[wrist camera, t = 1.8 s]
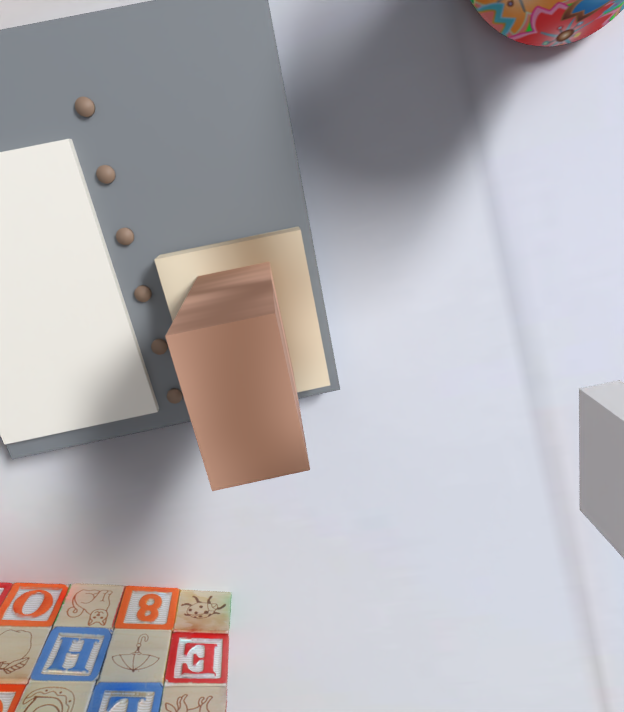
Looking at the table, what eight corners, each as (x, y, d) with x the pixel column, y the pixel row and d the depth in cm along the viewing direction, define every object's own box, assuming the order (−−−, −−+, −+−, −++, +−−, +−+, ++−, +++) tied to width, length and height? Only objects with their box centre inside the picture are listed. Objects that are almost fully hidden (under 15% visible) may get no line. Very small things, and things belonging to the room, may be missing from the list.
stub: (202, 402, 25) (172, 528, 16) (159, 254, 22) (97, 312, 14) (327, 375, 25) (363, 487, 16) (298, 226, 22) (323, 265, 14)
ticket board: (25, 443, 27) (8, 463, 25) (-139, 68, 21) (-177, 60, 19) (335, 377, 27) (341, 392, 25) (263, -9, 21) (264, -25, 19)
